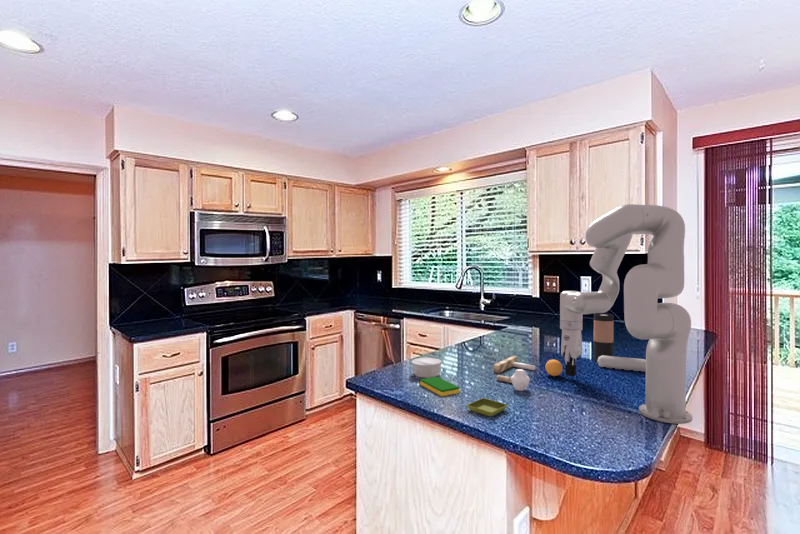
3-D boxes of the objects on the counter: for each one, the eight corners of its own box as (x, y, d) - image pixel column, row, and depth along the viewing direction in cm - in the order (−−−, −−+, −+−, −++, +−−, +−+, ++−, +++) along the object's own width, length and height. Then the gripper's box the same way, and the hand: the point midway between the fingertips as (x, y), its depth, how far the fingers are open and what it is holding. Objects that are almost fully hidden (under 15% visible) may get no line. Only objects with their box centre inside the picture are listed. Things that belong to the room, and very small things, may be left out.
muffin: (521, 385, 143) (522, 365, 143) (533, 390, 137) (533, 370, 137) (506, 387, 141) (506, 367, 141) (518, 393, 135) (518, 372, 135)
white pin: (534, 371, 162) (512, 367, 168) (535, 366, 163) (513, 362, 169) (532, 369, 161) (511, 365, 166) (533, 364, 162) (512, 361, 167)
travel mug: (589, 360, 177) (589, 313, 176) (601, 358, 180) (602, 312, 180) (604, 364, 170) (605, 316, 170) (617, 362, 173) (617, 314, 173)
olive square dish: (466, 411, 120) (466, 404, 120) (483, 404, 126) (483, 397, 126) (491, 420, 114) (491, 412, 114) (508, 411, 120) (508, 404, 120)
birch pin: (521, 378, 144) (498, 373, 150) (519, 382, 142) (496, 377, 148) (522, 382, 145) (499, 377, 150) (520, 386, 143) (497, 381, 149)
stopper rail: (498, 373, 158) (498, 365, 158) (493, 372, 159) (493, 364, 159) (517, 363, 172) (517, 356, 172) (513, 362, 173) (513, 355, 173)
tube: (596, 358, 165) (671, 366, 152) (597, 351, 169) (670, 358, 157) (597, 370, 166) (670, 378, 154) (597, 363, 171) (669, 370, 158)
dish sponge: (441, 397, 133) (441, 390, 132) (419, 385, 145) (419, 379, 145) (459, 394, 136) (459, 387, 136) (437, 382, 148) (437, 376, 148)
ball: (541, 359, 155) (543, 376, 153) (557, 359, 151) (559, 376, 150) (548, 359, 159) (550, 375, 158) (564, 359, 155) (565, 375, 154)
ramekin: (409, 378, 153) (409, 363, 153) (415, 369, 164) (415, 356, 164) (439, 380, 150) (439, 365, 150) (443, 371, 161) (443, 358, 161)
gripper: (575, 329, 141) (575, 382, 142) (587, 323, 153) (587, 372, 153) (553, 326, 146) (553, 378, 146) (566, 321, 157) (566, 369, 158)
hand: (570, 375), depth 150 cm, fingers closed
